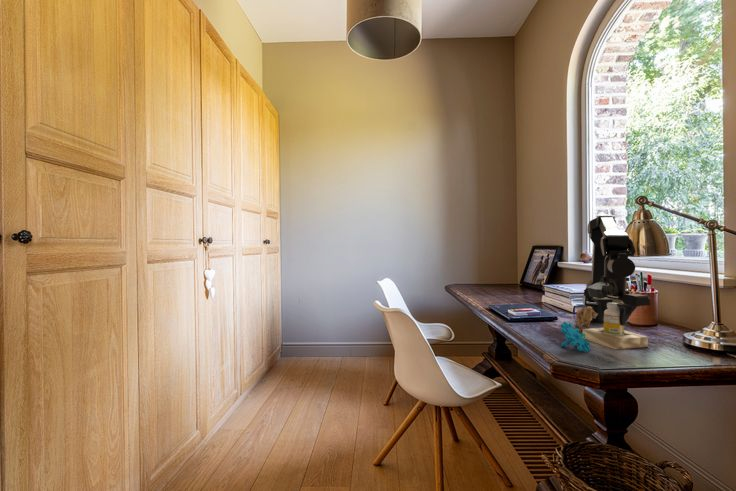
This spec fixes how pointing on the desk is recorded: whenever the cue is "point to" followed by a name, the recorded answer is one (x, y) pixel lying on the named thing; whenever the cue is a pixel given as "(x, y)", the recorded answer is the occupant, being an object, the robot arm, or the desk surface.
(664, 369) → the desk surface
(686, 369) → the desk surface
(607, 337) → the beige square frame
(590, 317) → the lion figurine
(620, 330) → the supplement bottle
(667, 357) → the desk surface
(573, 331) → the teal lumpy piece
